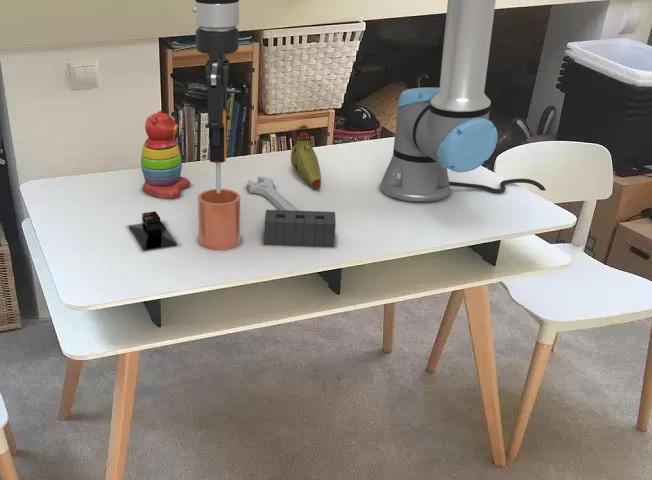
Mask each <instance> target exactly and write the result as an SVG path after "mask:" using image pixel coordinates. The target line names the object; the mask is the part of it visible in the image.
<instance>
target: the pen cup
mask: <svg viewBox="0 0 652 480" xmlns="http://www.w3.org/2000/svg"><path fill="white" fill-rule="evenodd" d="M197 217H198V219H197V220H198V239H199V240H198V241H199V244H200V245H201V246H202V247H204V248H207V249H211V250H228V249H231V248H234V247H236V246H238V245H239V244H240V242H241V195H240V194H239V192H237V191H234V190H232V189H227V188H221V193H216V188H212V189H207V190H203V191H201V192H200V193H199V194H198V196H197Z"/></svg>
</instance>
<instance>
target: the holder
mask: <svg viewBox="0 0 652 480" xmlns="http://www.w3.org/2000/svg"><path fill="white" fill-rule="evenodd" d="M336 221H337V220H336V211H318V210H300V211H293V210H280V209H266V210H265V215H264V224H263V225H264V227H263V245H267V246H293V247H294V246H295V247H319V248H320V247H323V248H334V247H335V238H336V225H337V223H336Z"/></svg>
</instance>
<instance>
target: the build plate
mask: <svg viewBox="0 0 652 480" xmlns="http://www.w3.org/2000/svg"><path fill="white" fill-rule="evenodd" d="M128 229H129V230H130V232H131V233H132V235H133V237H134V238H135V240H136V242H137V243H138V245H139V246H140V248H141V249H142V251H143V252H147V251H152V250H157V249H158V250H159V249H166V248H171V247H177V246H178V243H177V242H176V240H175V239H174V238H173V236H172V234H171V233H170V232H169V230H168V229H167V228H166V225H165V224H164V223H163V222H162V221H161V217H160V215H159V214H158V213H157V211H148V212H142V213H141V223H137V224H129V225H128Z"/></svg>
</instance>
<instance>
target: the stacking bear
mask: <svg viewBox="0 0 652 480" xmlns="http://www.w3.org/2000/svg"><path fill="white" fill-rule="evenodd" d="M144 128H145V133H146V136H147V138H146V139H145V141H144V143H143V145H142V149H141V156H140V165H141V166H140V167H141V171H142V174H143V178H144V183H143V191H144V192H145V193H146V194H148V195H150V196H154V197H157V198H162V199H170V200H171V199H176V198H178V197H181V191H182V190H184V189H186V188H189V187H190V185H191V182H190V180H189V179H188V178H187V177H185V176H181V175H182V173H181V172H182V166H183V163H182V162H183V161H182V160H183V159H182V154H181V151H180V147H179V144H178V141H177V140H176V138H175V137H176V136H177V134H178V131H179V125H178V124H177V122H175V121H174V119H173V118H172V117H171V116H170V115H169V114H168V113H164V111H163V109H162V110H161V109H160V110H159V111H158V112H156V113H152V114H151V115H149V116H148V117H147V118H146V120H145V123H144Z"/></svg>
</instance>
